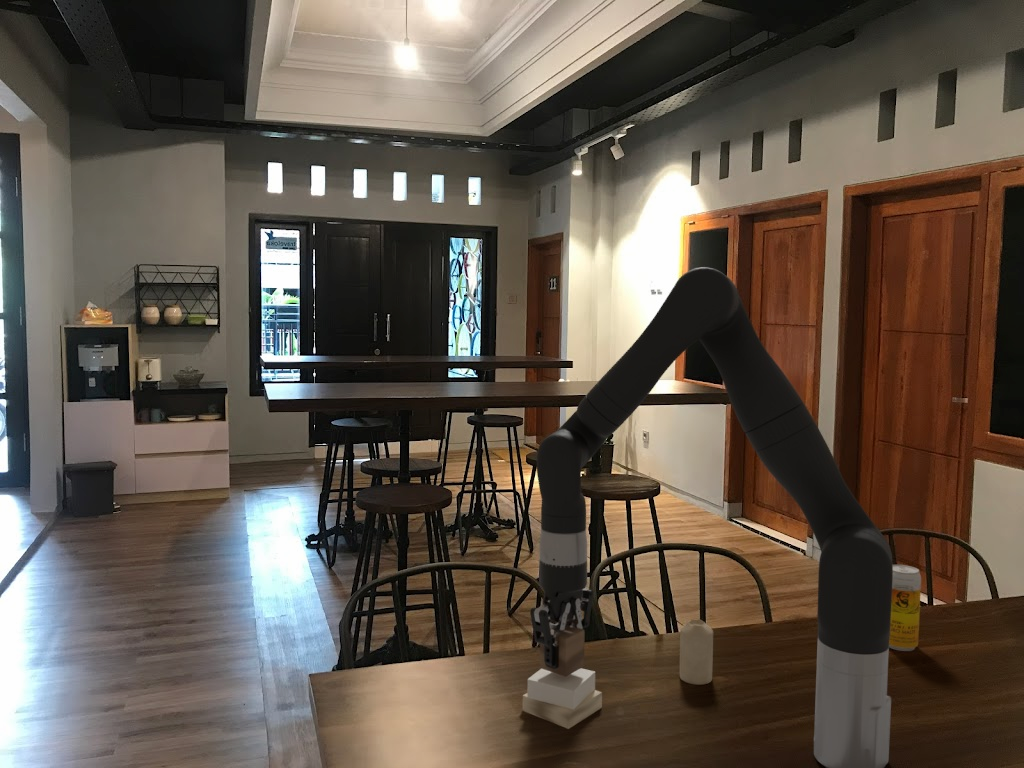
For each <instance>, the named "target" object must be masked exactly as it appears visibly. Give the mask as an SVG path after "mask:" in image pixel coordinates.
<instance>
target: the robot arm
mask: <svg viewBox="0 0 1024 768" xmlns="http://www.w3.org/2000/svg"><path fill="white" fill-rule="evenodd" d="M670 290H671V291H670V292H669V294H668V295H667V297H666V299H665V300H664V302H663V303H662V304H661V306H660V308H659V309H658V311H657V312H656V314H655V315H654V316H653V318H652V319H651V320H650V322H649V324H648V325H647V326H646V328H645V329H644V330H643V332H641V334H640V335H639V336H638V338H637V339H636V340H635V341H634V342H633V344H631V346H630V347H629V348H628V349H627V350H626V351H625V353H624V354H623V355H621V357H620V358H619V359H618V360H617V361H616V362H615V363H613V365H612V366H611V367H610V368H609V370H607V372H606V373H604V375H603V376H602V377H601V378H600V379H599V380H598V381H597V383H595V384H594V386H593V387H592V388H591V389H590V390H589V391H588V392H587V393H586V395H584V397H583V398H582V400H581V401H580V403H579V404H578V406H577V408H576V410H575V411H574V412H573V413H572V415H570V417H569V418H568V419H567V420H566V421H565V422H564V423H562V425H561V426H560V427H559V428H558V429H557V430H556V431H555V432H553V433H551V434H549V435H546V437H545V438H543V440H542V441H541V443H540V444H539V446H538V449H537V454H536V474H537V480H538V481H537V482H538V486H539V487H538V488H539V494H540V497H541V509H540V512H541V513H540V522H541V523H540V527H541V528H540V536H539V545H538V546H539V549H538V552H539V556H538V558H539V559H538V561H539V562H538V565H539V569H538V570H539V572H538V573H539V574H538V575H539V576H538V577H539V579H538V580H539V581H538V583H539V586H540V587H541V588H542V589H543V591H544V596H543V599H542V604H541V605H540V606H539V607H531V608H530V612H529V613H530V620H531V625H532V630H533V631H532V632H533V637H534V642H535V643H538V644H539V645H540V644H544V655H545V656H544V662H545V665H546V666H547V667H549V668H552V669H556V668H558V666H559V646H558V644H559V637H560V635H561V632H563V631H564V629H565V625H570V626H574V627H575V628H580V629H584V628H585V629H586V628H588V627H589V626H590V621H591V613H592V608H593V607H592V606H593V601H594V600H593V599H594V590H591V589H588V588H586V587H587V585H588V537H587V504H586V498H585V495H584V494H583V493H582V476H581V475H582V468H583V467H585V465H587V463H589V462H590V460H591V459H592V458H593V456H594V455H595V454H596V453H597V452H598V450H599V449H600V448H601V447H602V446H603V444H604V443H605V442H606V441H607V439H608V438H609V437H610V436H611V435H612V434H614V433H615V432H616V431H617V430H618V429H619V428H620V427H621V426H622V425H623V424H624V423H625V422H626V421H627V420H628V418H629V417H631V415H632V414H633V413H634V412H635V411H636V410H637V409H638V407H640V405H641V404H642V403H643V402H644V400H645V399H646V398H647V397H648V395H649V394H650V393H651V391H652V390H653V389H654V387H656V384H658V381H660V380H661V378H662V376H663V375H664V374H665V372H666V371H667V370H668V369H669V367H671V366H672V364H673V363H674V362H675V361H676V360H677V359H678V358H679V357H680V356H681V355H682V354H683V353H684V352H685V351H686V350H687V349H689V347H691V345H693V344H694V343H696V342H697V341H698V340H699V342H700V343H701V344H702V346H703V347H704V348H705V350H706V351H707V354H708V355H709V356H710V358H711V359H712V361H713V363H714V365H715V366H716V368H717V371H718V372H719V375H720V376H721V380H722V383H723V385H724V387H725V390H726V393H727V396H728V399H729V402H730V404H731V406H732V410H733V412H734V414H735V416H736V418H737V420H738V423H739V424H740V427H741V429H742V431H743V432H744V434H745V436H746V438H747V439H748V441H749V443H750V445H751V446H752V448H753V450H754V452H755V453H756V454H757V456H758V458H759V459H760V461H761V462H762V464H763V465H764V467H766V469H767V470H768V472H769V473H770V474H771V475H772V476H773V477H774V478H775V480H776V481H777V482H778V483H779V484H780V486H782V488H783V489H784V490H785V491H786V492H787V493H788V494H789V495H790V496H791V497H792V498H793V500H794V501H795V502H796V504H797V505H798V507H799V508H800V509H801V511H802V514H803V515H804V517H805V519H806V520H807V523H808V524H809V527H810V529H811V531H812V533H813V535H814V537H815V540H816V541H817V545H818V547H819V549H820V552H821V553H820V556H819V562H818V577H817V578H818V579H817V580H818V581H817V582H818V583H817V585H818V586H817V611H816V612H817V615H816V616H817V644H816V645H817V647H816V648H817V650H816V677H815V702H814V703H815V705H814V728H813V729H814V730H813V731H814V732H813V733H814V735H813V755H814V758H815V759H816V761H817V762H819V764H821V765H822V766H824V767H825V768H885V767H886V765H887V764H888V763H889V757H890V755H889V754H890V737H891V734H890V733H891V716H892V715H891V713H892V712H891V711H892V710H891V709H892V708H891V707H892V697H891V696H890V695H888V679H889V678H888V676H889V675H888V673H889V670H888V669H889V653H890V651H889V650H890V647H889V637H890V626H891V601H892V581H893V565H894V564H893V554H892V550H891V546H890V545H889V543H888V541H887V538H885V536H884V535H883V534H882V532H881V530H880V529H879V528H878V527H877V526H876V524H875V523H874V522H873V521H872V519H871V517H869V515H868V514H867V512H866V511H865V510H864V509H863V507H862V505H861V504H860V503H859V502H858V501H859V500H857V499H856V497H855V496H854V493H852V492H851V490H850V488H849V487H848V485H847V483H846V481H845V479H844V477H843V476H842V473H841V471H840V469H839V467H838V465H837V463H836V460H835V458H834V455H833V454H832V452H831V450H830V447H829V445H828V444H827V442H826V439H825V438H824V435H823V434H822V433H821V430H820V428H819V427H818V425H817V423H816V421H815V420H814V418H813V416H812V414H811V413H810V410H809V409H808V408H807V406H806V404H805V403H804V401H803V399H802V398H801V396H800V395H799V392H798V391H797V390H796V388H795V387H794V386H793V384H792V383H791V381H790V379H789V378H788V377H787V376H786V374H785V372H783V370H782V369H781V368H780V366H779V365H778V364H777V362H776V361H775V360H774V359H773V357H772V356H771V354H769V352H768V350H767V349H766V348H765V346H764V345H763V344H762V341H761V340H760V338H759V336H758V334H757V332H756V330H755V328H754V326H753V324H752V322H751V320H750V317H749V316H748V314H747V310H746V308H745V306H744V305H743V301H742V299H741V297H740V294H739V290H738V288H737V287H736V284H735V283H734V282H733V281H732V280H731V278H729V277H728V276H727V275H726V274H724V273H723V272H722V271H720V270H718V269H716V268H714V267H713V268H712V267H708V266H706V267H705V266H703V267H702V266H701V267H695V268H692V269H690V270H688V271H687V272H685V273H683V274H682V275H681V276H680V277H679V278H678V279H677V281H676V283H675V284H674V286H673V287H672V289H670ZM582 612H583V613H582ZM551 621H553V622H555V624H556V623H558V625H555V624H554V623H552V622H551ZM551 629H553V630H554V635H553V637H551ZM541 632H542V633H543V635H541Z"/></svg>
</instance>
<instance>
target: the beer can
mask: <svg viewBox="0 0 1024 768" xmlns="http://www.w3.org/2000/svg"><path fill="white" fill-rule="evenodd" d="M921 589H922V575H921V573H920V569H919V568H917V567H914V566H911V565H910V566H909V565H905V564H893V581H892V601H891V626H890V637H889V649H893V650H896V651H900V652H902V651H903V652H912V651H914V650H915V649H916V647H918V646H919V633H920V631H919V630H920V615H921V614H920V610H921V592H922V591H921Z"/></svg>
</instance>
